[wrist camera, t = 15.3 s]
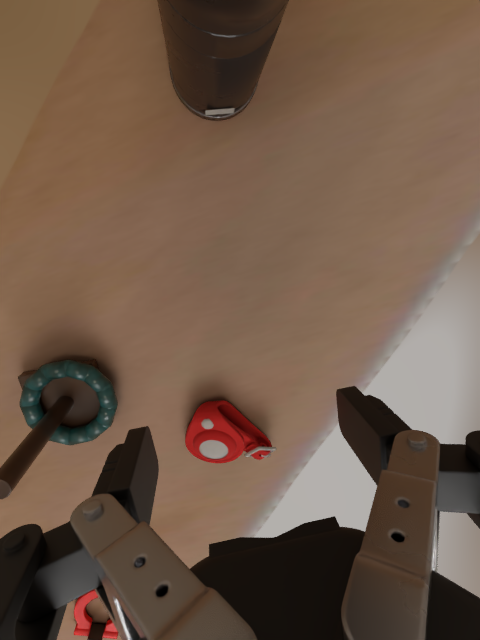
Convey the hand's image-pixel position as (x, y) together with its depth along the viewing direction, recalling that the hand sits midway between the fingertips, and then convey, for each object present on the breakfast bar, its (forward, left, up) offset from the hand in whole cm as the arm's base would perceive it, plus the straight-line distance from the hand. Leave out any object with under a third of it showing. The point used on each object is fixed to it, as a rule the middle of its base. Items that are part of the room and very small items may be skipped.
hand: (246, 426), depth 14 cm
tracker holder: (+20, -2, -30) cm, 36 cm away
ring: (+10, -20, -28) cm, 35 cm away
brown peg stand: (+10, -21, -30) cm, 38 cm away
